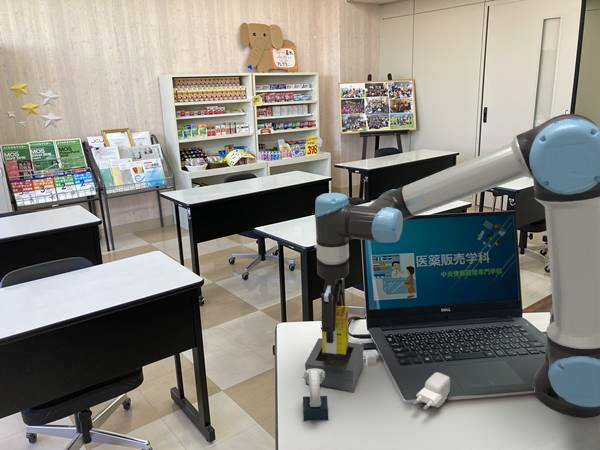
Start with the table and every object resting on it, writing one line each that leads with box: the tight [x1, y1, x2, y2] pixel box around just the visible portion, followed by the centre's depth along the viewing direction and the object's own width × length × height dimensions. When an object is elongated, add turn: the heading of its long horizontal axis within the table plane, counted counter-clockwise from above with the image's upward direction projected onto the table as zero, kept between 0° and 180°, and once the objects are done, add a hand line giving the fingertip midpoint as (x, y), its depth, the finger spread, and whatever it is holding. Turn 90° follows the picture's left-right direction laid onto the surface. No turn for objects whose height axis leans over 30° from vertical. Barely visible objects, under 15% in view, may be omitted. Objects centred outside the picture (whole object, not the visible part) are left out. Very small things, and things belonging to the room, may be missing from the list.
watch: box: [301, 369, 329, 422], centre depth 106 cm, size 6×8×11 cm
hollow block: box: [304, 337, 364, 393], centre depth 120 cm, size 12×12×6 cm
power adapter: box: [412, 371, 451, 411], centre depth 107 cm, size 11×5×6 cm, turn 137°
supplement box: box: [320, 305, 349, 357], centre depth 117 cm, size 6×6×11 cm
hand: (334, 344), depth 118 cm, fingers closed on supplement box, 6 cm apart
